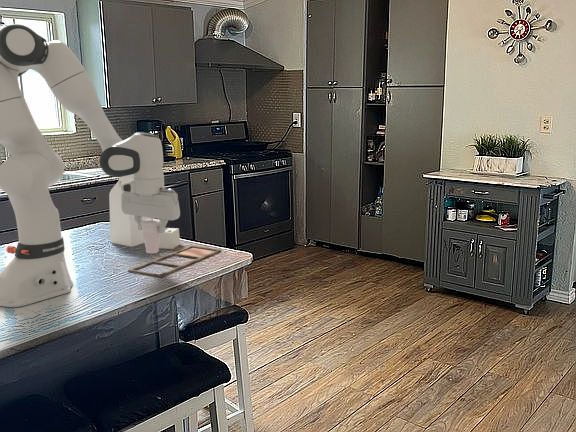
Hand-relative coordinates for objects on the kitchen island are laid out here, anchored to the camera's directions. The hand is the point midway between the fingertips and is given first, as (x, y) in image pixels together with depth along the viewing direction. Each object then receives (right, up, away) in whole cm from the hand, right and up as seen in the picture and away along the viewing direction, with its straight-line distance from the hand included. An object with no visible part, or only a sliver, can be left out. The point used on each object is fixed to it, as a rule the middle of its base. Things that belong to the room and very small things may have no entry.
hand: (151, 231), depth 177 cm
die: (-1, -6, +30) cm, 30 cm away
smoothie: (0, -7, +2) cm, 7 cm away
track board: (+6, -10, +11) cm, 16 cm away
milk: (-16, -5, +38) cm, 41 cm away
